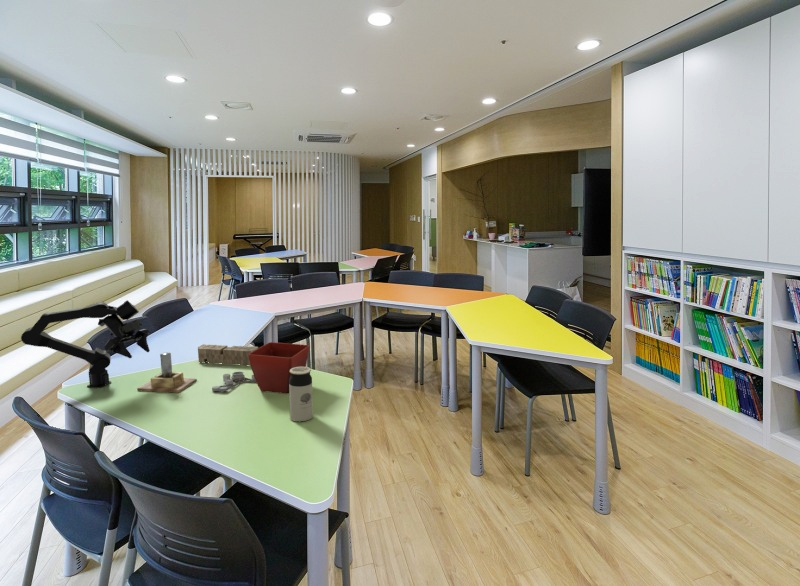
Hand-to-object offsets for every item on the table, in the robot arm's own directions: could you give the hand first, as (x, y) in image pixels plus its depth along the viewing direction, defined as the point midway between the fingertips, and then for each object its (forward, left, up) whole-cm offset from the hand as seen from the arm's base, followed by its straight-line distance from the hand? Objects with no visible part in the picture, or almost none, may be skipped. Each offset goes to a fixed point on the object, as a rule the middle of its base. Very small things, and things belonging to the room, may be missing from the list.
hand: (140, 354), depth 197 cm
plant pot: (+59, +5, -14) cm, 61 cm away
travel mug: (+77, -23, -14) cm, 81 cm away
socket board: (+11, +1, -14) cm, 17 cm away
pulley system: (+40, +9, -14) cm, 43 cm away
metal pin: (+11, +1, -12) cm, 16 cm away
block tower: (+20, +36, -14) cm, 44 cm away
